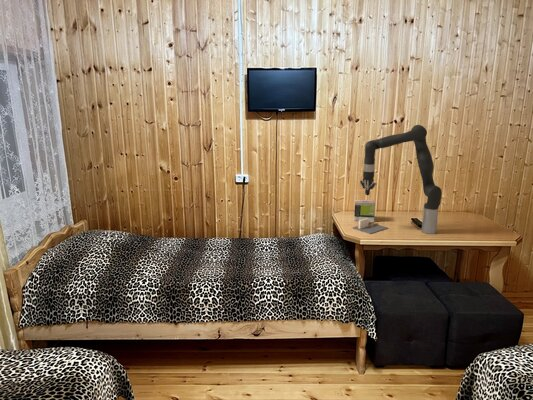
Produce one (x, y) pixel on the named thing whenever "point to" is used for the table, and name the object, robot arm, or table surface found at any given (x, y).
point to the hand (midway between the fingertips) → (367, 194)
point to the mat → (371, 229)
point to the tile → (363, 223)
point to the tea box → (364, 210)
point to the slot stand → (372, 223)
